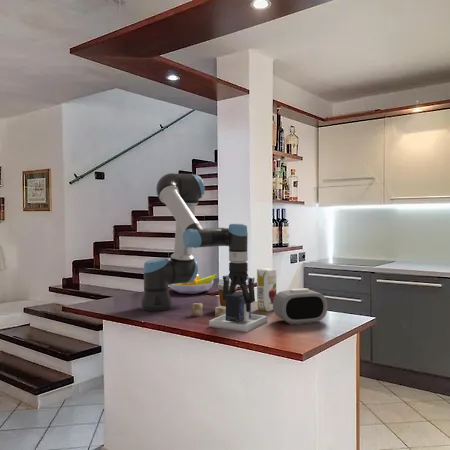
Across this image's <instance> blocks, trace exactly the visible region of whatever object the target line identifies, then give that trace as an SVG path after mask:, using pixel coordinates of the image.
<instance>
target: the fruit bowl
mask: <svg viewBox="0 0 450 450" xmlns="http://www.w3.org/2000/svg"><path fill="white" fill-rule="evenodd" d="M217 274H218V273H214V274H213V275H209V276H206V277H203V278H201V276H200V275H199V274H198V273H197V276H196V278H195V279H194V280H193V281H192V282H187V283H179V284H170V285H168V287H169V288H170V289H171V290H173V291H174V292H177V293H179V294H185V295H186V294H187V295H197V294H200V293H204V292H205V291H208V290H209V289H211V288H212V287H213V286H214V285H213V284H214V280H215V278H216V276H218V275H217Z"/></svg>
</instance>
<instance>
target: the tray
mask: <svg viewBox="0 0 450 450" xmlns="http://www.w3.org/2000/svg"><path fill="white" fill-rule="evenodd" d="M208 323H209V324H208V327H210V328H216V329H222V330H230V331H235V332H242V333H248V332H251V331H252V330H255V329H256V328H258V327H260V326H262V325H264V324H266V323H268V315H263V314H261V315H260V314H254V313H251V317H250V318H249V319H248V320H243V321H240V322H232V321H226V314H224V315H222V316H219V317H217V318H215V317H214V318H212V319H210V320H208Z"/></svg>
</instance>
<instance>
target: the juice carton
mask: <svg viewBox="0 0 450 450" xmlns="http://www.w3.org/2000/svg"><path fill="white" fill-rule="evenodd" d="M276 294H277V268H271V267H270V268H269V267H264V268H262V269H258V268H257V269H256V309H257V311H264V312H270V311H274V310H273V300H274V297H275V296H276Z"/></svg>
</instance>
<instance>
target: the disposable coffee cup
mask: <svg viewBox="0 0 450 450" xmlns="http://www.w3.org/2000/svg"><path fill="white" fill-rule="evenodd" d="M223 284H224V282H219V283H218V284H217V289H218V298H219V303H220V304H219V306H226V300H223ZM230 284H231V282H229V289H230ZM237 289H238V285H236V287H235V291H234V292H237ZM228 293H229V290H228Z"/></svg>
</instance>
